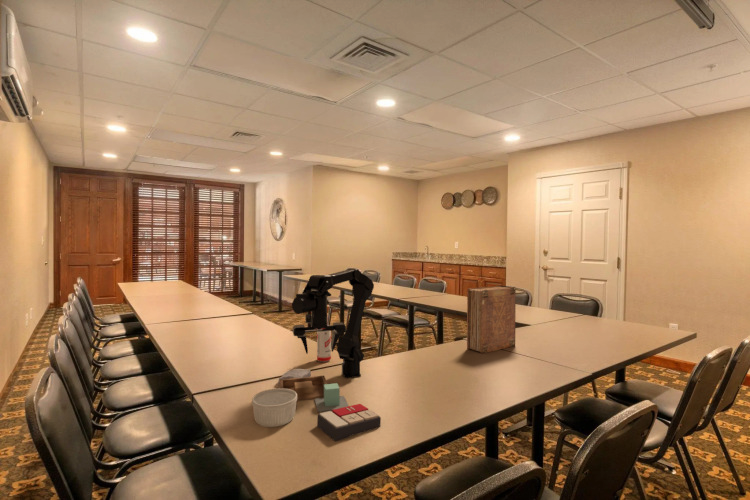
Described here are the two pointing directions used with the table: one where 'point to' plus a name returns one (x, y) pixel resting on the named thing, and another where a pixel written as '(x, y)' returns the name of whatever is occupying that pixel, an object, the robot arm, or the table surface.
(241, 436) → the table surface
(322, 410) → the pad
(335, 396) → the teal block
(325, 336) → the beer can
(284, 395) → the ramekin
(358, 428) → the calculator
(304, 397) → the caddy
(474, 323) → the book
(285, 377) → the stone block
